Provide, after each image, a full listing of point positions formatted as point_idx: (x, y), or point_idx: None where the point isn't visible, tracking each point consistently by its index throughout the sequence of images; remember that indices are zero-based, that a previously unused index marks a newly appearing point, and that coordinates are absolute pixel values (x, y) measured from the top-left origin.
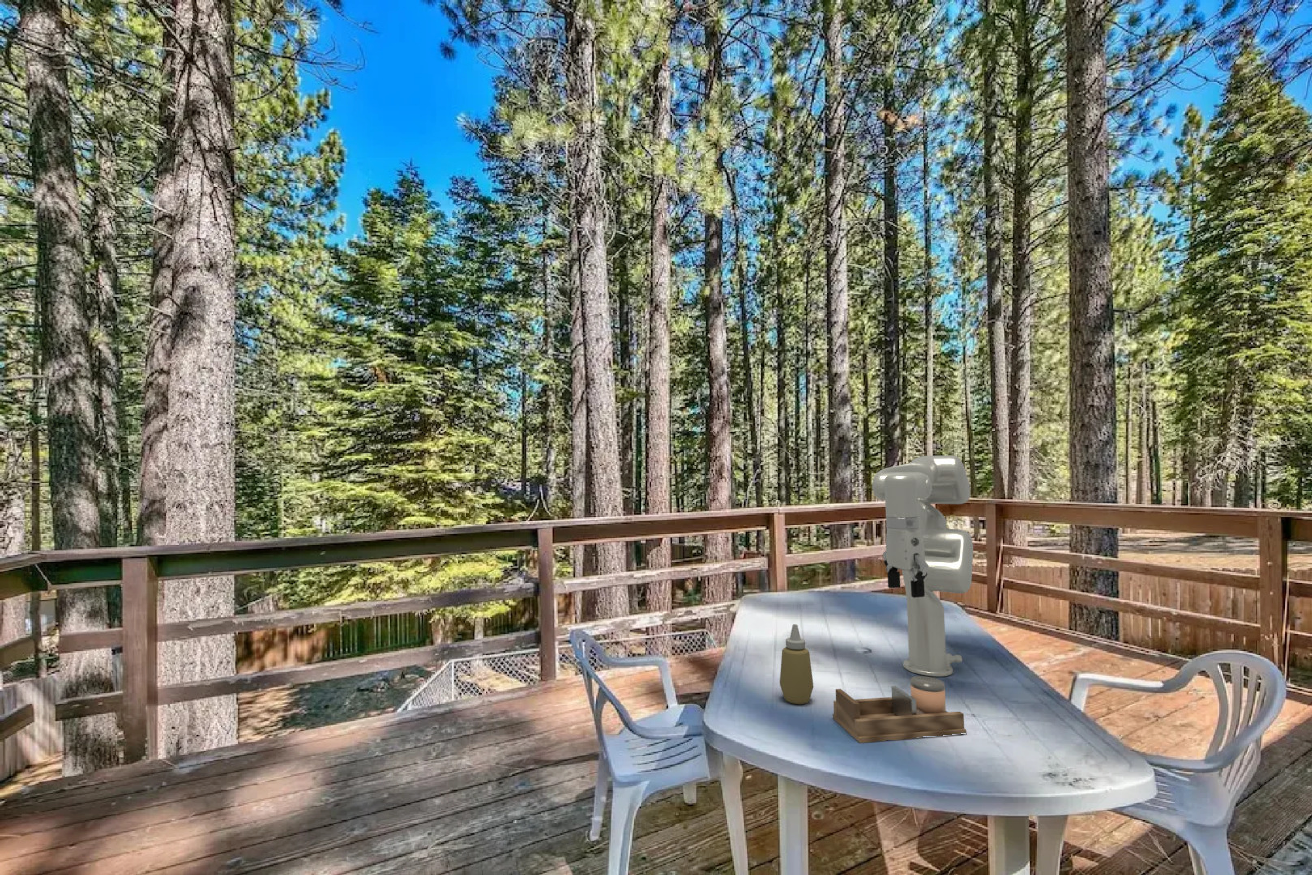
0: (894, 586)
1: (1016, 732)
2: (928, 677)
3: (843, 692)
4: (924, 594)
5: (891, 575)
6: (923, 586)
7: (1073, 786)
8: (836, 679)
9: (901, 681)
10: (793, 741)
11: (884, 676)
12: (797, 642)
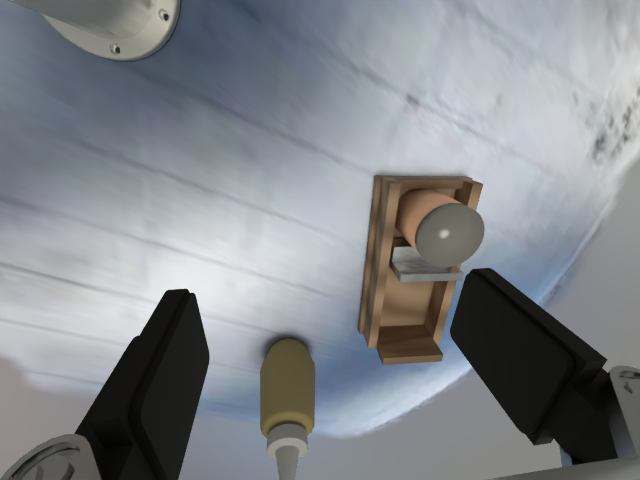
0: (202, 337)
1: (498, 74)
2: (433, 221)
3: (398, 359)
4: (494, 272)
5: (177, 450)
6: (543, 317)
7: (630, 139)
8: (196, 265)
9: (212, 133)
10: (401, 382)
11: (176, 155)
12: (305, 450)
